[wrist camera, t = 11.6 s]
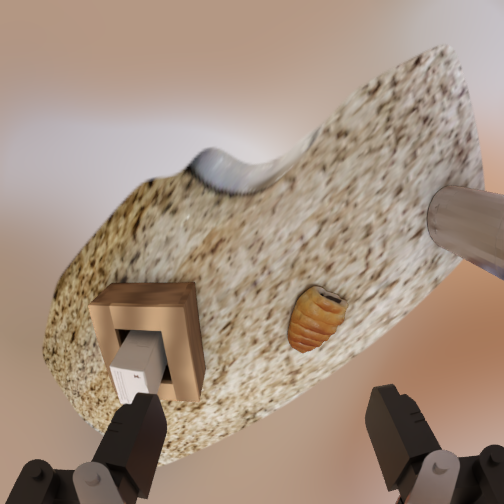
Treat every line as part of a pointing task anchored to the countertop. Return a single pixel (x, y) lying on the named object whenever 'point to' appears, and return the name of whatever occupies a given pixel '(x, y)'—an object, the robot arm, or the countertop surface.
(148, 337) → the skincare box
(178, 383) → the slot box
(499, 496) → the robot arm
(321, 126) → the countertop surface
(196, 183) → the countertop surface
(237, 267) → the countertop surface
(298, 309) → the pastry
